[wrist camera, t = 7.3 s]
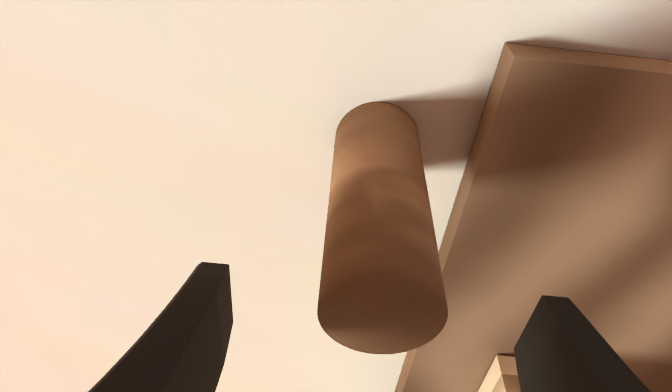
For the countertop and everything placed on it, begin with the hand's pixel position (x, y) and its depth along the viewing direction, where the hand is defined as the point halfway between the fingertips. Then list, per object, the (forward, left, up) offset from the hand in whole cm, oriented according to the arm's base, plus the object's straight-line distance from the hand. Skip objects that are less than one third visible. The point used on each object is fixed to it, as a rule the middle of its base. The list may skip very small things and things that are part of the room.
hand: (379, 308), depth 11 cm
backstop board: (-11, +8, -8) cm, 15 cm away
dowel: (0, 0, -8) cm, 8 cm away
